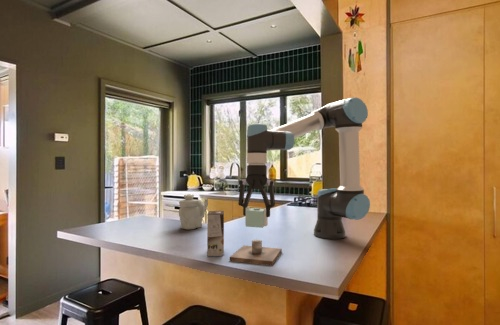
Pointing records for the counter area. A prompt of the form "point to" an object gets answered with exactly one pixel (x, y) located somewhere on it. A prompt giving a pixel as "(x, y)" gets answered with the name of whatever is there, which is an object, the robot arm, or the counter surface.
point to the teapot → (192, 212)
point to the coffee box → (215, 233)
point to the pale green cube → (255, 217)
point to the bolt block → (256, 254)
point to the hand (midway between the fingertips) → (256, 224)
